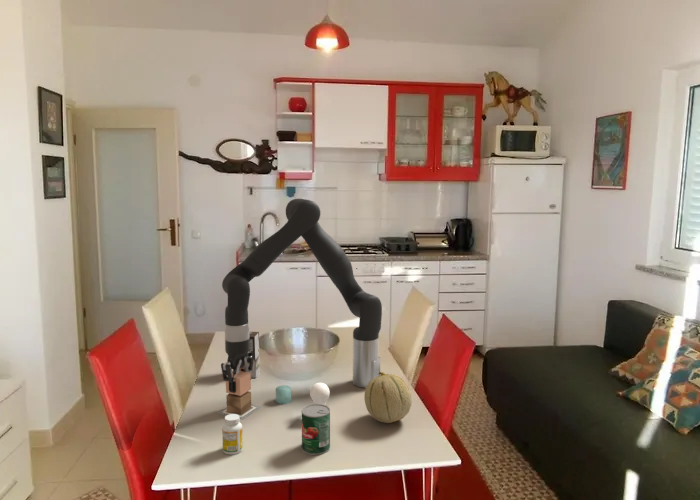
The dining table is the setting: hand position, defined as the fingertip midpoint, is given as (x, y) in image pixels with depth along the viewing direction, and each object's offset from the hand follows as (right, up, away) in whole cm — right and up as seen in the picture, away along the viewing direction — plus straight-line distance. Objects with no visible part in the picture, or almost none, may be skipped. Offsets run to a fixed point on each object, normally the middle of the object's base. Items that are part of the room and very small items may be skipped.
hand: (238, 388), depth 166 cm
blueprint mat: (0, -8, +1) cm, 8 cm away
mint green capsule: (+13, -7, +8) cm, 17 cm away
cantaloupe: (+47, -9, -5) cm, 48 cm away
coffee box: (-4, -4, +32) cm, 33 cm away
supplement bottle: (+3, -11, -22) cm, 25 cm away
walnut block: (0, -7, +1) cm, 7 cm away
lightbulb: (+26, -8, -2) cm, 27 cm away
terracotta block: (0, -1, 0) cm, 1 cm away
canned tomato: (+26, -11, -21) cm, 35 cm away
